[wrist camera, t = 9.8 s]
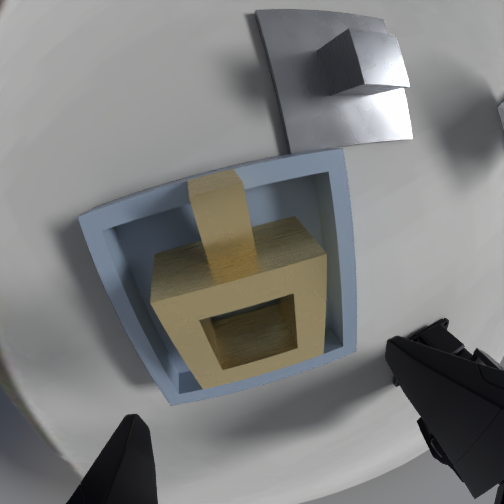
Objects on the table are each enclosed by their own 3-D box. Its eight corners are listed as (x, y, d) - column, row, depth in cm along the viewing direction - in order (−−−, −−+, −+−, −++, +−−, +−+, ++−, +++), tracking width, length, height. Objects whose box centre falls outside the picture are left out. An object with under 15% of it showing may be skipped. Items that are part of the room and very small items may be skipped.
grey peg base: (409, 138, 15) (451, 140, 12) (289, 154, 14) (319, 154, 11) (380, 21, 12) (415, 3, 8) (254, 13, 11) (272, -22, 7)
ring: (301, 312, 17) (323, 354, 14) (196, 342, 17) (203, 389, 14) (288, 156, 12) (325, 181, 9) (132, 197, 11) (117, 235, 8)
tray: (340, 331, 19) (356, 351, 17) (171, 380, 18) (170, 405, 16) (321, 148, 14) (343, 148, 12) (95, 207, 13) (77, 217, 11)
